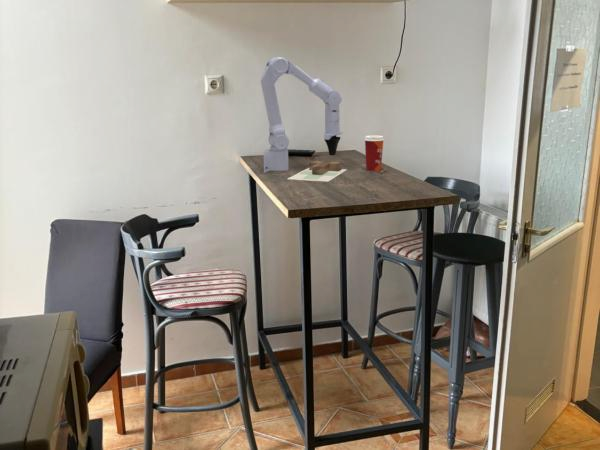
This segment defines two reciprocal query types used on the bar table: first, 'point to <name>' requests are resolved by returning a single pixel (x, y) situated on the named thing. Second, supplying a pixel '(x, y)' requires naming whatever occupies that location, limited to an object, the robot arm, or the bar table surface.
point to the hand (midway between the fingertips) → (332, 155)
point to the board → (309, 176)
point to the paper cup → (373, 152)
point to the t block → (324, 167)
